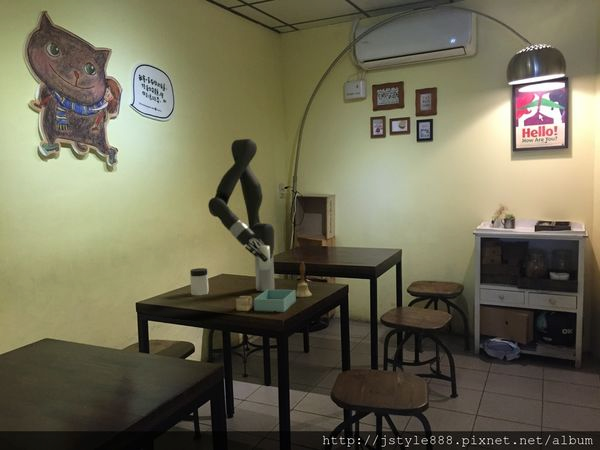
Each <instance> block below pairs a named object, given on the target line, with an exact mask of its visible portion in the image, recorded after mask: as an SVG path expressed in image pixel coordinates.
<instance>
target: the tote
mask: <svg viewBox="0 0 600 450" xmlns="http://www.w3.org/2000/svg"><path fill="white" fill-rule="evenodd" d="M295 293H296V289H274V290H270V289H267V290H266V291H262V293H260V294H259V295H257V296H256V297H255V298H254V299H253V309H254V311H255V312H274V311H276V312H278V313H284V312H286V311H287V310H288V309H289V308H290V307H291V306H292V305H293V304H294V303H296V301H297V298H296V295H295Z"/></svg>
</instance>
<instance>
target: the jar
mask: <svg viewBox="0 0 600 450" xmlns="http://www.w3.org/2000/svg"><path fill="white" fill-rule="evenodd" d="M189 273H190V279H189V280H190V294H191V296H199V295H200V296H204V295H208V293H210V290H209V274H208V268H205V267H200V268H199V267H198V268H192V269H190V272H189Z"/></svg>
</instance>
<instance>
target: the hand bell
mask: <svg viewBox="0 0 600 450" xmlns="http://www.w3.org/2000/svg"><path fill="white" fill-rule="evenodd" d="M299 273H300V282H299V283H298V284H297V290H296V291H295V295H296V297H297V298H307V297H311V296H312V294H313V293H312V292H310V290H309V287H308V283H306V282H305V273H306V265H305V262H304V261H301V262H300V264H299Z"/></svg>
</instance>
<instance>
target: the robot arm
mask: <svg viewBox="0 0 600 450" xmlns="http://www.w3.org/2000/svg"><path fill="white" fill-rule="evenodd" d="M230 146H231V150H230V151H231V155H232V158H233V161H234V164H233V165H232V166H231V167H230V168H228V170H227V171H226V172H225V173H224V175H223V176H222V178H221V179H220V182H219V184H218V186H217V187H216V192H215V196H214V197H212V198H210V200H209V201H208V206H207V207H208V211H209V213H210V214H211V215H212V217H214V218H215V217H217V218H218V219H219V220H220V221H221V224H222V225H223V226H224V227H225V228H226V229H227V230H228V231H229V233H230V234H231V236H233V237H234V238H235V240H237V242H239V244H240V245H241V246H245V249H246V250H247V251H248V252H249V253H250V254H251V255H253V256H254V270H255V271H254V272H255V290H256V291H258V292H265V291H266V290H267V289H270V290H276V289H275V287H276V286H275V270H274V269H275V267H274V250H275V229H274V226H273V225H272V224H270V223H264V222H263V223H261V220H260V213H259V212H260V209H261V206H262V202H263V191H262V186H261V183H260V181H259V179H258V178H257V176H256V175H255V173H254V172H253V170H252V169H251V166H250V164H251V162H252V160H253V159H254V158H255V156H256V154H257V152H258V151H257V150H258V148H257V147H258V146H257V144H256V142H255V140H254V139H251V138H241V139H236V140H235V139H234V141H233V142H232V143H231V145H230ZM238 181H240V186H241V193H242V197H243V201H244V204H245V209H246V215H247V221H248V225H247V224H246V223H245V222H244V221H242V220H241V219H240V218H239V217H238V216H237V215H236V214H235V213H234V212H233V210H232V209H231V208H230V207H229V205H228V204H229V200H230V199H231V196H232V194H233V192H234V190H235V188H236V186H237V184H238ZM264 245H268V246H270V263H271V269H268V270H260V269H259V257H260V258H261V259H262V260H263V261H264V262H266V261H267V260H268V258H267V257H266V256H265V255H264V254H263V253H262V252H261V251H260V248H259V246H264Z"/></svg>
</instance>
